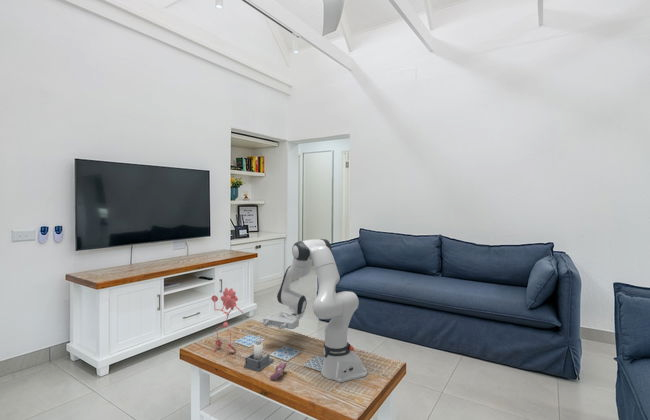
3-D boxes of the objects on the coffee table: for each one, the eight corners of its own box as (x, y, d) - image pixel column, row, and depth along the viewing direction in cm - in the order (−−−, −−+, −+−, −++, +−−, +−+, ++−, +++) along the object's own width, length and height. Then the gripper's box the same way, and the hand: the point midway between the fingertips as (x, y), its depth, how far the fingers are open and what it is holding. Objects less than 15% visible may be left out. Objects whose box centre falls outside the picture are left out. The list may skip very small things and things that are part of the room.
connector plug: (262, 360, 167) (262, 337, 167) (262, 364, 163) (262, 341, 163) (253, 361, 167) (254, 338, 166) (253, 365, 162) (253, 341, 162)
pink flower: (235, 360, 169) (237, 293, 170) (203, 348, 183) (204, 287, 183) (256, 350, 183) (257, 288, 183) (224, 339, 196) (225, 282, 196)
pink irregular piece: (277, 384, 150) (283, 372, 150) (268, 379, 151) (275, 367, 150) (283, 373, 160) (289, 362, 159) (275, 369, 160) (281, 357, 160)
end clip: (258, 357, 173) (258, 348, 173) (273, 361, 169) (273, 352, 169) (243, 367, 163) (244, 358, 162) (259, 371, 158) (259, 362, 158)
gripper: (271, 311, 192) (256, 318, 180) (300, 315, 183) (287, 323, 171) (271, 321, 192) (256, 329, 180) (301, 326, 183) (287, 335, 171)
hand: (272, 326), depth 175 cm, fingers open, 8 cm apart
